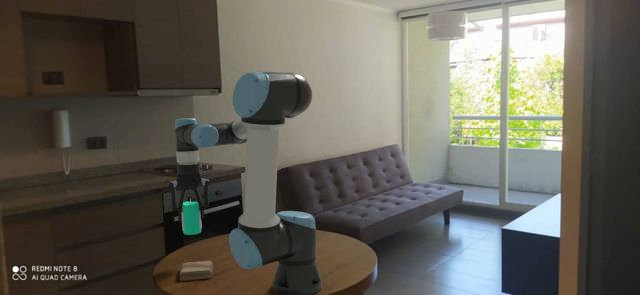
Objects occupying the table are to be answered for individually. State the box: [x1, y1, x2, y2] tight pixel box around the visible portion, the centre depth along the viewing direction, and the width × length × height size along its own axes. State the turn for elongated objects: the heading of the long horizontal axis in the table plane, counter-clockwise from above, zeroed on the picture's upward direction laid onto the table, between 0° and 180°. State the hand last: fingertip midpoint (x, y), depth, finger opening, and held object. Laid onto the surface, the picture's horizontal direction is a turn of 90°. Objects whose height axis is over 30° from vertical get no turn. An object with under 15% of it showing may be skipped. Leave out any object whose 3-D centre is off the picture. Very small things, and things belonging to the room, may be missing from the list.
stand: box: [179, 260, 214, 282], centre depth 152 cm, size 10×10×2 cm
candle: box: [182, 198, 202, 236], centre depth 160 cm, size 6×6×12 cm
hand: (192, 228), depth 161 cm, fingers closed on candle, 5 cm apart
